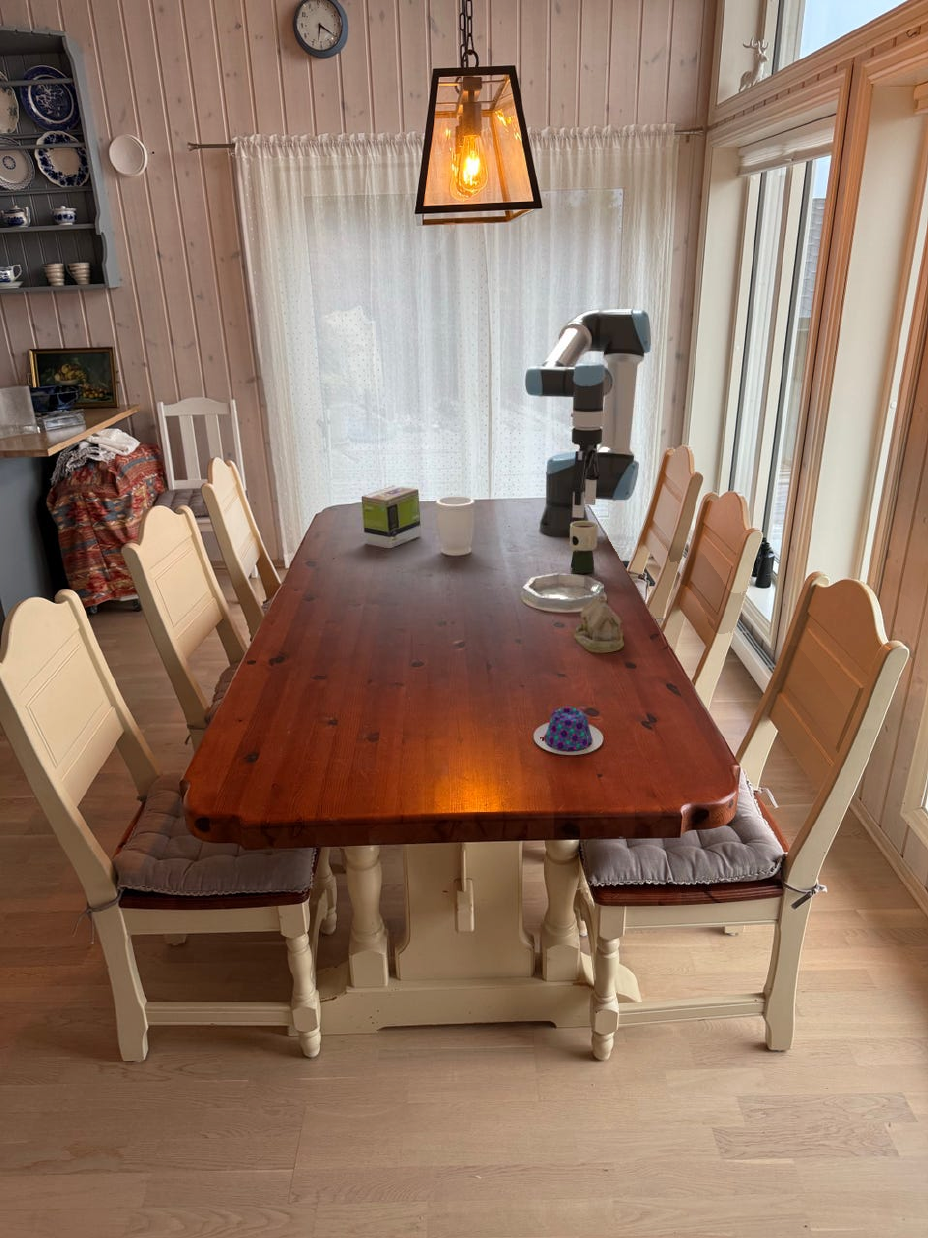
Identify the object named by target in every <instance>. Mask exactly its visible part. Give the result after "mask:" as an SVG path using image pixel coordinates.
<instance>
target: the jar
mask: <svg viewBox="0 0 928 1238" xmlns="http://www.w3.org/2000/svg"><path fill="white" fill-rule="evenodd" d="M474 505H475V500H474V499H473V498H471V497H465V496H446V497H441V498H438V499H437V500H436V506H437V507H438V508H437V513H436V529H437V531H438V539H439V541H440V544H441V546H442V548H441V553H442V554H443V555H446V556H451V557H453V556H454V557H455V556H456V557H457V556H458V557H459V556H466V555H468V554H470V553H472V549H471V546H470V545H471V544H472V542H473V536H474V530H475V512H474V508H473V506H474Z"/></svg>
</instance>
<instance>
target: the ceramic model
mask: <svg viewBox="0 0 928 1238" xmlns="http://www.w3.org/2000/svg"><path fill="white" fill-rule="evenodd" d="M580 617H581V619H582V621H581V624H579V625H576V628H575V631H574V634H573V638H574V639H575V640H576V641H577V642H578V644H579V645H581V646H582V648H584V649H586V650H588V651H589V652H591V653H612V652H615V651H619V650H621V649H622V648H624V645H625V643H624V639H623V637H624V632H623V631H624V630H623V629H622V628H621V624H622V622H623V620H622V619H621V617H619V616H618V615H617V613H615V612H614V611H613V610H612V608H611V607H610V606H609V604H608V603H607V600H605V598H604V596H600V597H599V596H596V597H595V598H594V599H593V600H592V601H590V602H589V603H588V604H587V605H586V606H585V607H584V608H583V610H582V612H580Z"/></svg>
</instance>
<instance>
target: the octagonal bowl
mask: <svg viewBox="0 0 928 1238" xmlns="http://www.w3.org/2000/svg"><path fill="white" fill-rule="evenodd" d="M596 596H599V597H600V596H604V598H605V600H606V601H607V599H608V597H607V594H606V592H605V584H603V583H601V582H600V581H598V580H596V579H594V578H593V577H591V576H589V575H585V574H576V573H575V574H574V573H573V574H572V573H564V572H554V573H549V574H543V575H538V576H537V575H536V576H531V577H530V579H529V580H528V581H527V582H526V584H524V585H523V587H522V591H521V593H520V600H521V601H522V603H524V604H525V605H526V606H528V607H530V608H532V609H535V610H538V611H542V612H546V613H547V612H548V613H557V614H576V613H581V612H582V610H583V608H584V607H585V606H586V605H587V604H588V603H589V602H590V601H592V600H593V599H594V598H595V597H596Z"/></svg>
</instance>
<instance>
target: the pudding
mask: <svg viewBox="0 0 928 1238" xmlns="http://www.w3.org/2000/svg"><path fill="white" fill-rule="evenodd" d="M540 737H544V741H542V738H541V739H540ZM533 739H534V742H535V743H536V744H537V745H538V746H539V747H540V748H542V749H544V750H546V751H547V752H551V753H554V754H558V755H564V756H565V755H567V756H577V755H583V754H587V753H588V754H589V753H592V752H593V751H595V750H597V749H598V748H600V746H601V745H602V744H603V742H604V736H603V733H602V732H601V731H600V729H598V728H596V727H595V726H593V725H591V724H589V721H588V718H587V715H586V714H585V713H584V712H583V710H581V709H579V708H575V707H570V706H569V707H561V708H558V709H556V710H554V711H553V712H552V714H551V717H550V720H549V722H546V723H544V724H542V725H540V726H539V727H537V728H536V730H535V731H534V733H533ZM590 743H591V744H590ZM589 744H590V745H589Z"/></svg>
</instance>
